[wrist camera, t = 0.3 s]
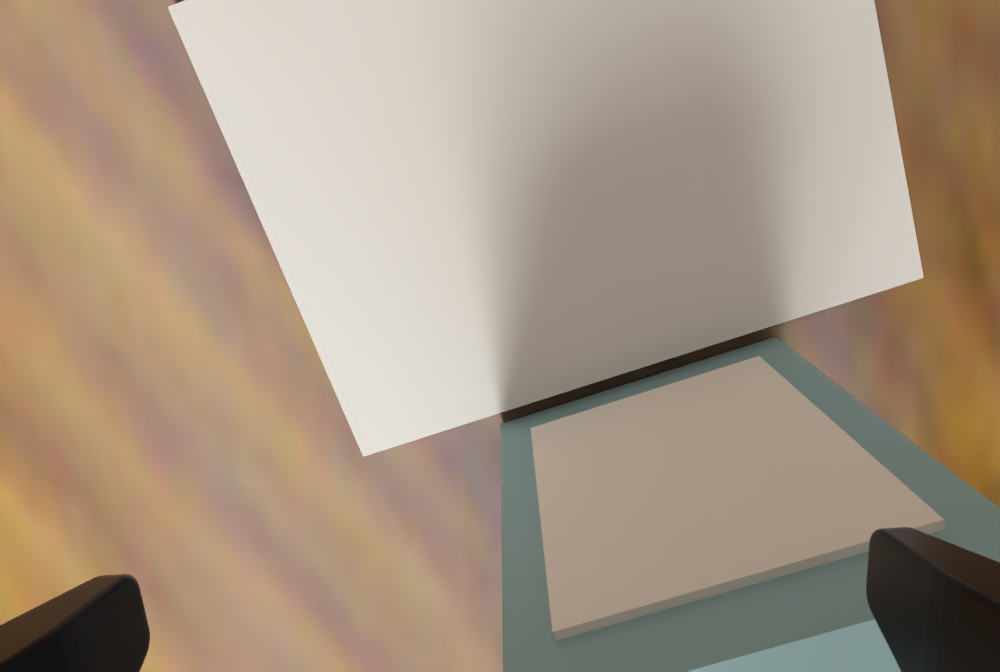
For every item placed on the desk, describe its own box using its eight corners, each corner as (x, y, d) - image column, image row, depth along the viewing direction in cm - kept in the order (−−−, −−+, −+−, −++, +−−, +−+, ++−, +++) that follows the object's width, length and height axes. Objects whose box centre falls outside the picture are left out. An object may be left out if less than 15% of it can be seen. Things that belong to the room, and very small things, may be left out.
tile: (785, 379, 23) (1082, 643, 11) (515, 464, 23) (532, 790, 12) (773, 330, 22) (1071, 553, 11) (499, 418, 23) (499, 712, 11)
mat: (918, 275, 22) (923, 277, 21) (364, 452, 23) (363, 456, 23) (824, -245, 18) (829, -251, 18) (172, 8, 20) (167, 7, 19)
